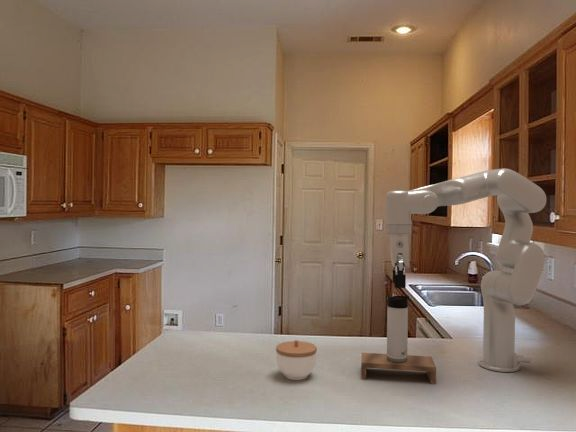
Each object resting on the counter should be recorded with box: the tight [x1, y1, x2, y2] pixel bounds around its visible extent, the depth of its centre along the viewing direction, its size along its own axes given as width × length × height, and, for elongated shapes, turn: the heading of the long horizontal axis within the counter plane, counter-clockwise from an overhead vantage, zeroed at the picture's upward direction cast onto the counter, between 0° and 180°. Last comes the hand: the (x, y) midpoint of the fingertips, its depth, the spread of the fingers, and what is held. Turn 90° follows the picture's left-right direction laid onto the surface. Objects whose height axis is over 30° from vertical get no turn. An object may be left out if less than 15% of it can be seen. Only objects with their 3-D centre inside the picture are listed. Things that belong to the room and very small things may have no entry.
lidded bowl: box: [275, 339, 317, 381], centre depth 142 cm, size 13×13×11 cm
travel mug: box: [386, 295, 410, 363], centre depth 143 cm, size 6×7×20 cm
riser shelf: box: [360, 352, 437, 385], centre depth 143 cm, size 22×10×5 cm, turn 80°
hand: (398, 285), depth 143 cm, fingers open, 9 cm apart
